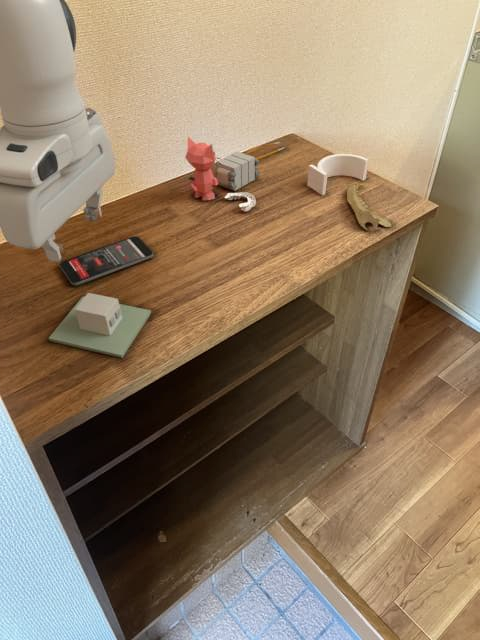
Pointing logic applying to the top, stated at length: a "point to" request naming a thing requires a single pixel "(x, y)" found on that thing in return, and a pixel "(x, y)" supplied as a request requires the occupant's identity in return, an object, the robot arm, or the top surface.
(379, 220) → the mandible
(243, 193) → the dentures
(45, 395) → the top surface
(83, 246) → the top surface
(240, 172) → the electrical component
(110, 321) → the block
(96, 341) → the desk mat
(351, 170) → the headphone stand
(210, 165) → the cat figurine
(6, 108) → the robot arm
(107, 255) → the smartphone
